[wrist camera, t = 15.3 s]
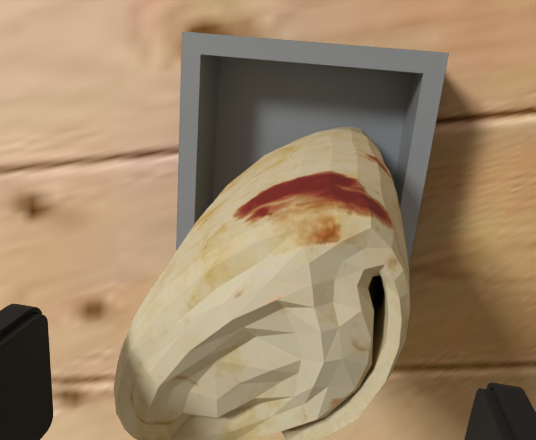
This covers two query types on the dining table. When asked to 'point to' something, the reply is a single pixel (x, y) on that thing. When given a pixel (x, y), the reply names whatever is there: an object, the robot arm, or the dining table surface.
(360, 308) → the food model
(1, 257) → the dining table surface
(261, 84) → the bin
